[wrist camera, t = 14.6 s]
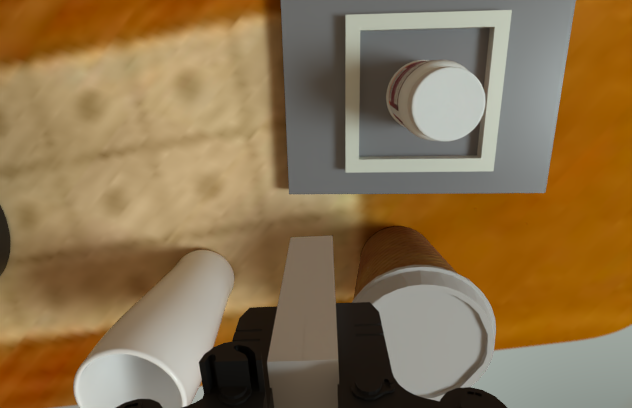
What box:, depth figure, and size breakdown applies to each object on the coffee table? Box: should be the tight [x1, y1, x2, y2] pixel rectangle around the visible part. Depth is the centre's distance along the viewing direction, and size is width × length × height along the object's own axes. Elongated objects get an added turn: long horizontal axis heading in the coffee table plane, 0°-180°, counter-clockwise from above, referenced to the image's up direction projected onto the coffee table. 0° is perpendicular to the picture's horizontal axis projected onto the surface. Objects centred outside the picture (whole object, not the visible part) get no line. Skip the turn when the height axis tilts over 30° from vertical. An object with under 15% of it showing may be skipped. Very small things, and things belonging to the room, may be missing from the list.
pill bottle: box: [388, 60, 485, 141], centre depth 27 cm, size 5×5×8 cm
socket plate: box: [281, 0, 576, 194], centre depth 31 cm, size 20×15×2 cm
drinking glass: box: [73, 250, 234, 408], centre depth 31 cm, size 7×7×15 cm
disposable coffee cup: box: [352, 226, 496, 401], centre depth 31 cm, size 10×10×12 cm
